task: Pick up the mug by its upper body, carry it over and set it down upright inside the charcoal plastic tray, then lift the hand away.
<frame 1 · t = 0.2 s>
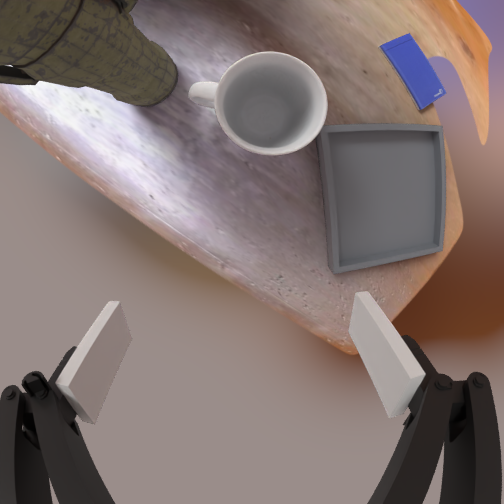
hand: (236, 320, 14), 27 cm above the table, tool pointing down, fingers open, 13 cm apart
thermos: (150, 79, 32), on the table
mug: (255, 114, 35), on the table
tray: (386, 192, 39), on the table
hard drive: (411, 71, 32), on the table
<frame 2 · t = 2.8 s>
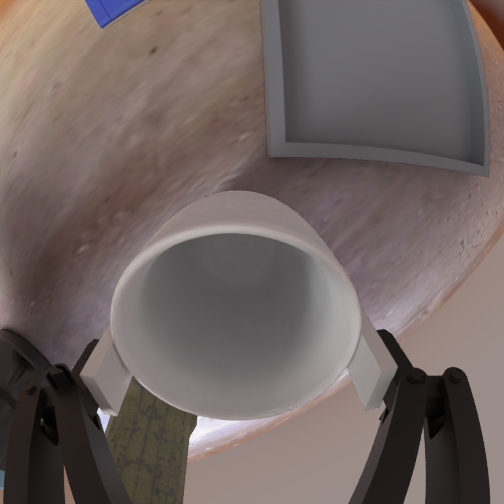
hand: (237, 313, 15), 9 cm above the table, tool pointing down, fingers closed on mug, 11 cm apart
thermos: (164, 368, 28), on the table
mug: (233, 253, 23), on the table, touching gripper
tray: (385, 46, 16), on the table
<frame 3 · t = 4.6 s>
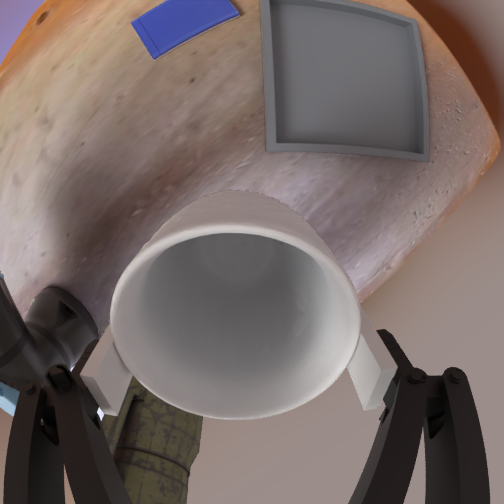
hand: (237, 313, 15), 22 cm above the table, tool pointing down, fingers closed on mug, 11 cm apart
thermos: (188, 307, 40), on the table
mug: (232, 252, 23), point 13 cm above the table, touching gripper
tray: (347, 74, 28), on the table
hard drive: (184, 19, 25), on the table
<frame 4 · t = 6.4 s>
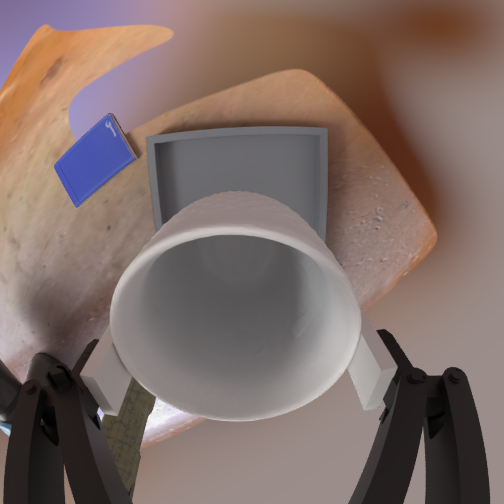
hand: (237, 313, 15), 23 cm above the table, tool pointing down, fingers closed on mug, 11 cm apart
thermos: (139, 378, 49), on the table
mug: (232, 253, 23), point 14 cm above the table, touching gripper
tray: (240, 211, 36), on the table
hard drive: (95, 160, 33), on the table
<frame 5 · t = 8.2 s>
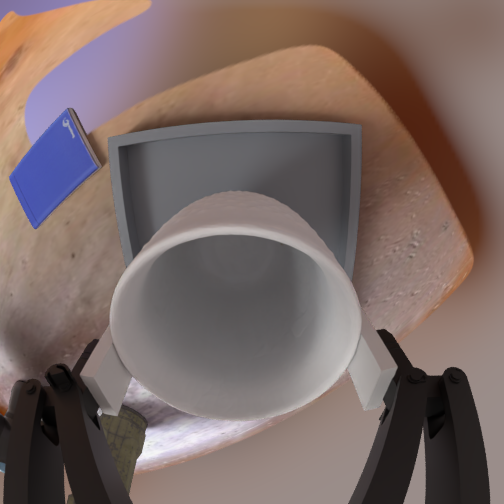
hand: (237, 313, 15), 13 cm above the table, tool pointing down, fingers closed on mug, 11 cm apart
thermos: (125, 416, 39), on the table
mug: (232, 253, 23), point 4 cm above the table, touching gripper
tray: (238, 237, 27), on the table
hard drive: (54, 169, 24), on the table
when the fingers open (10 cm above the table, at t = 9.8 s): mug stays where it is, resting on tray.
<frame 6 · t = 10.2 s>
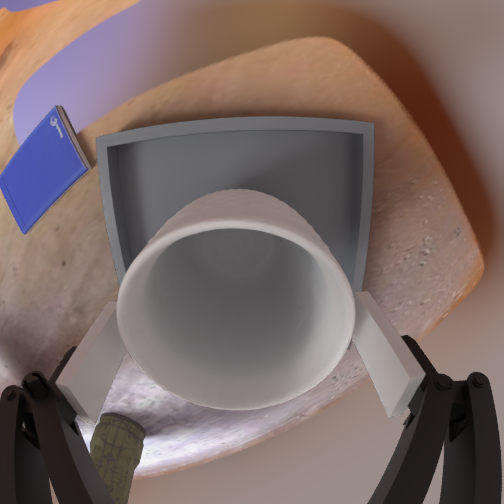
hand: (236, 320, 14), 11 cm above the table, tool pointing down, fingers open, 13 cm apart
thermos: (122, 425, 37), on the table
mug: (233, 249, 24), point 1 cm above the table, touching tray
tray: (238, 246, 25), on the table
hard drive: (43, 171, 22), on the table
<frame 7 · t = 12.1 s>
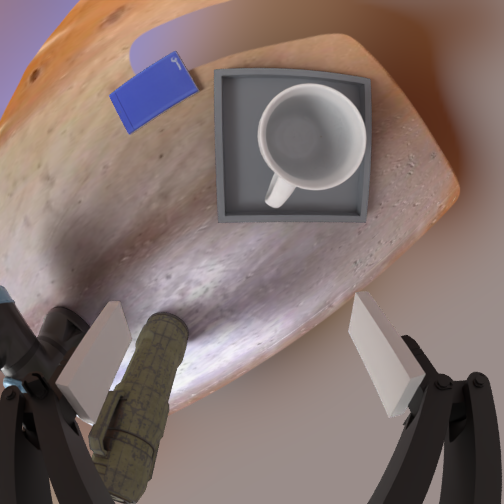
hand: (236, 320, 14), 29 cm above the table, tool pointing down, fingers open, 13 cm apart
thermos: (167, 329, 50), on the table
mug: (291, 144, 37), point 1 cm above the table, touching tray
tray: (293, 144, 37), on the table
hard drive: (154, 92, 34), on the table
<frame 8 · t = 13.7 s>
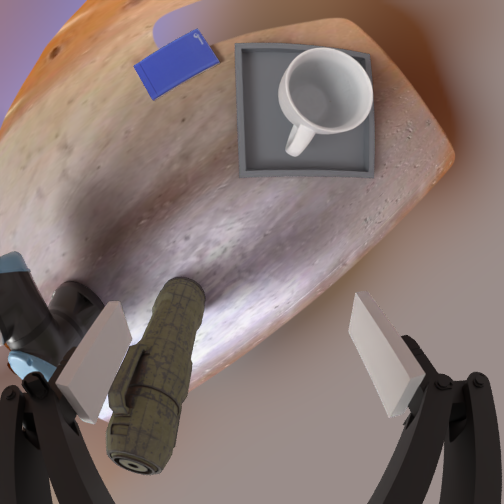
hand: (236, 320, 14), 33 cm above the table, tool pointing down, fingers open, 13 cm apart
thermos: (183, 295, 51), on the table
mug: (303, 108, 38), point 1 cm above the table, touching tray
tray: (305, 109, 39), on the table
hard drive: (176, 64, 36), on the table
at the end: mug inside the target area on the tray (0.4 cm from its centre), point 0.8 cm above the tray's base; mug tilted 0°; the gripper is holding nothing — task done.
